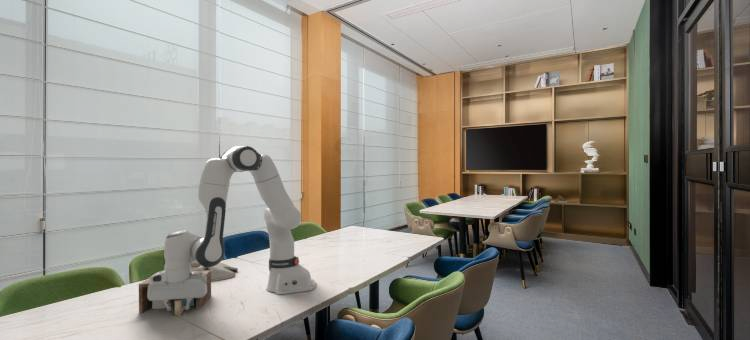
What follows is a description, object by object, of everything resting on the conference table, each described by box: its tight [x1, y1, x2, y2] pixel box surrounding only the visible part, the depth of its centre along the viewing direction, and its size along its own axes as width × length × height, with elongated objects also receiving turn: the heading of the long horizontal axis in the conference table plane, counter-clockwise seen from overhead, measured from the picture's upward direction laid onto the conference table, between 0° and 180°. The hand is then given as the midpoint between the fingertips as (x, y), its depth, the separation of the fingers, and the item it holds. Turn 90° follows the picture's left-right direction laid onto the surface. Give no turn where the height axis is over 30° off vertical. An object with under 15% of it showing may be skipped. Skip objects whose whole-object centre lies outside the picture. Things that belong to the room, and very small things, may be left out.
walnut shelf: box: [138, 270, 212, 314], centre depth 137 cm, size 22×14×11 cm, turn 99°
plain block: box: [151, 300, 167, 310], centre depth 136 cm, size 6×6×5 cm
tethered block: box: [174, 298, 196, 317], centre depth 133 cm, size 6×14×6 cm, turn 9°
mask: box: [191, 261, 239, 283], centre depth 173 cm, size 20×9×30 cm
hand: (178, 309), depth 127 cm, fingers open, 4 cm apart
